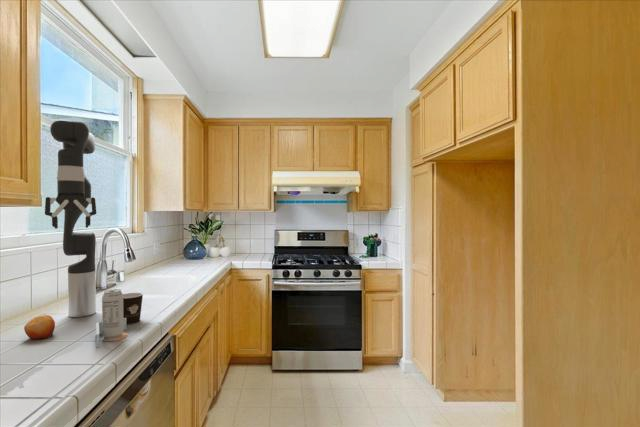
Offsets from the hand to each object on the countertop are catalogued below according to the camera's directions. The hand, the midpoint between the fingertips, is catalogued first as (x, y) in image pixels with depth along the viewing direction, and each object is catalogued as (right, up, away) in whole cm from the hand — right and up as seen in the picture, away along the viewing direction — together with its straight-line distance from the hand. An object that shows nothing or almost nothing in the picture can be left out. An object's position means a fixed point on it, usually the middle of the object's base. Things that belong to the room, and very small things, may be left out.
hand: (71, 228), depth 120 cm
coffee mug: (+12, -36, +12) cm, 40 cm away
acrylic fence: (+16, -36, -4) cm, 40 cm away
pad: (+17, -36, -3) cm, 40 cm away
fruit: (-8, -36, -3) cm, 38 cm away
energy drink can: (+16, -36, -4) cm, 39 cm away
